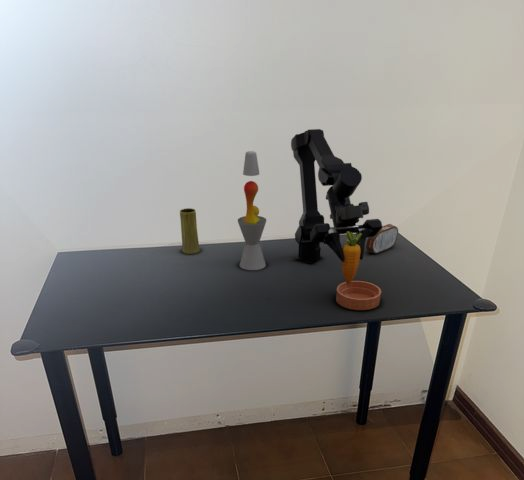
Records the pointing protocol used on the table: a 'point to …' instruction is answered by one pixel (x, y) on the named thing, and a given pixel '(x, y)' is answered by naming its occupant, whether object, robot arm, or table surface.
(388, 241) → the tin
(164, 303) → the table surface
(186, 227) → the vase
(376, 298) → the bowl
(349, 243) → the carrot
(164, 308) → the table surface
